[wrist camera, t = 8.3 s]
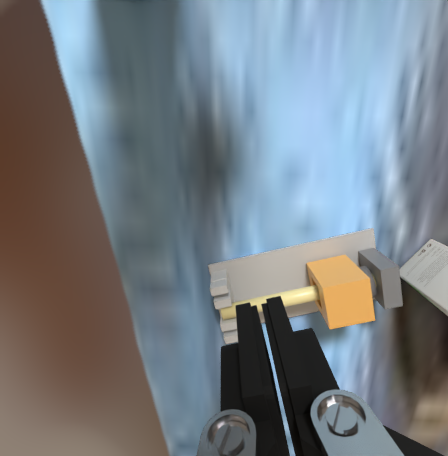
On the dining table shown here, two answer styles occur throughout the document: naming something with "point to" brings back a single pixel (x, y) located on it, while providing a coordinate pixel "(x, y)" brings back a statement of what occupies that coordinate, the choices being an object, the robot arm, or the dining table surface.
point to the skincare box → (429, 273)
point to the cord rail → (297, 277)
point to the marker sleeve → (342, 291)
